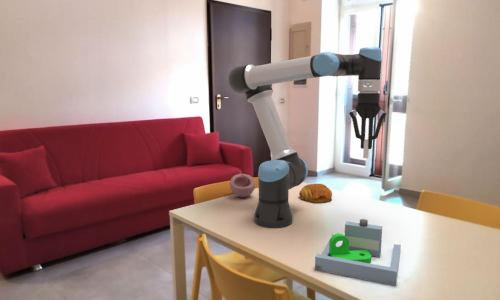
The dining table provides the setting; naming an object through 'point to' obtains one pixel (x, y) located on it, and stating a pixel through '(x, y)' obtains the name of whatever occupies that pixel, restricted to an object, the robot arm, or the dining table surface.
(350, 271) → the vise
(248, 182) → the pink round pot
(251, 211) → the dining table surface
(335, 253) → the mechanical part
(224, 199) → the dining table surface
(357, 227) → the slide jaw
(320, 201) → the croissant
